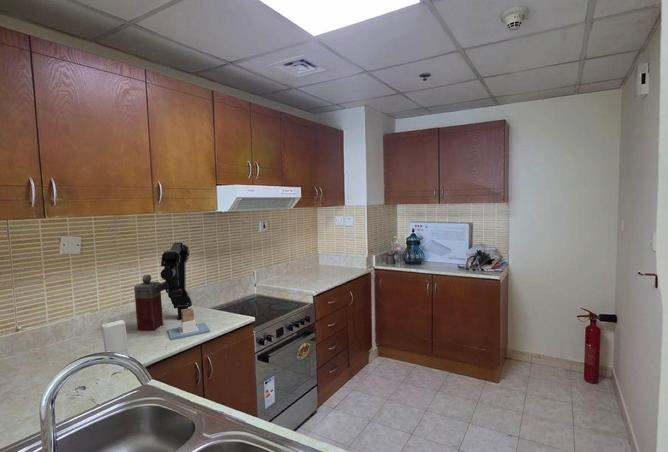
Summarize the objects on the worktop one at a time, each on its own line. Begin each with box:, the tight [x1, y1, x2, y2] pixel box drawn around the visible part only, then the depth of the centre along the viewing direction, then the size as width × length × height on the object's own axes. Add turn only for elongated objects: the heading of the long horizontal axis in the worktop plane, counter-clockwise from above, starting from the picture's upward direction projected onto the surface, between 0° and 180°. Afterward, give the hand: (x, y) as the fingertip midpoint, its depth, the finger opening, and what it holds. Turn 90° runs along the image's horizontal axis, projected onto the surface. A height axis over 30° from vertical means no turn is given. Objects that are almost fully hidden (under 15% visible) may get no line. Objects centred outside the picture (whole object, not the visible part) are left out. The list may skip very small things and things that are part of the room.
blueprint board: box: [167, 322, 211, 341], centre depth 185 cm, size 14×18×1 cm
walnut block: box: [181, 307, 195, 322], centre depth 185 cm, size 5×5×5 cm
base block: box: [180, 318, 197, 333], centre depth 185 cm, size 6×6×5 cm
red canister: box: [133, 274, 164, 332], centre depth 192 cm, size 9×11×28 cm
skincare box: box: [101, 319, 129, 356], centre depth 157 cm, size 8×6×15 cm
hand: (174, 306), depth 189 cm, fingers open, 9 cm apart
